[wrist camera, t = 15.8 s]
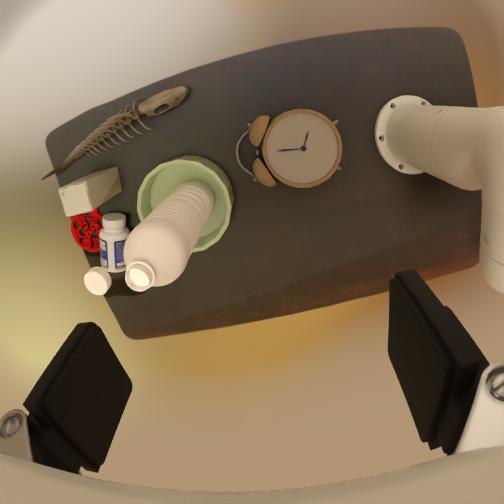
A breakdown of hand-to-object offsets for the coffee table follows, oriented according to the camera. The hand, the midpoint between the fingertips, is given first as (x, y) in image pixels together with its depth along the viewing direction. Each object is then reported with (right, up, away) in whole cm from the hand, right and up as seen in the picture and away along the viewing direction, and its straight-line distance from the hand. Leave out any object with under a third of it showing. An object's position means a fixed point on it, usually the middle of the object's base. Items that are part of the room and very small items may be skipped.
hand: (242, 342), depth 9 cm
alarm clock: (+6, +18, +36) cm, 41 cm away
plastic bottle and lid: (-10, +11, +39) cm, 42 cm away
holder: (-9, +11, +40) cm, 42 cm away
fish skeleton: (-21, +21, +36) cm, 47 cm away
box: (-23, +14, +39) cm, 48 cm away
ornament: (-30, +3, +44) cm, 53 cm away
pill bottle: (-23, 0, +42) cm, 48 cm away
